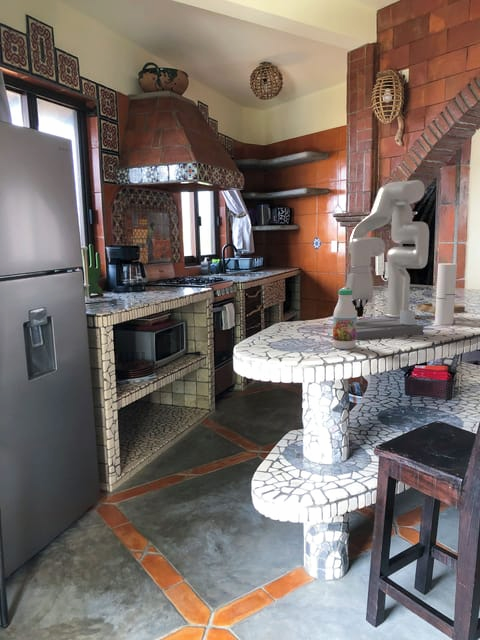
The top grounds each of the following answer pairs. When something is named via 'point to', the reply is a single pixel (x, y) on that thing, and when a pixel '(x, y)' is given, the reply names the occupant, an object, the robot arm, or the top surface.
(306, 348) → the top surface
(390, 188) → the robot arm
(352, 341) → the milk bottle
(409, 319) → the grey fader
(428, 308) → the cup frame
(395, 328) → the fader console
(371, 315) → the top surface
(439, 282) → the cylindrical container
